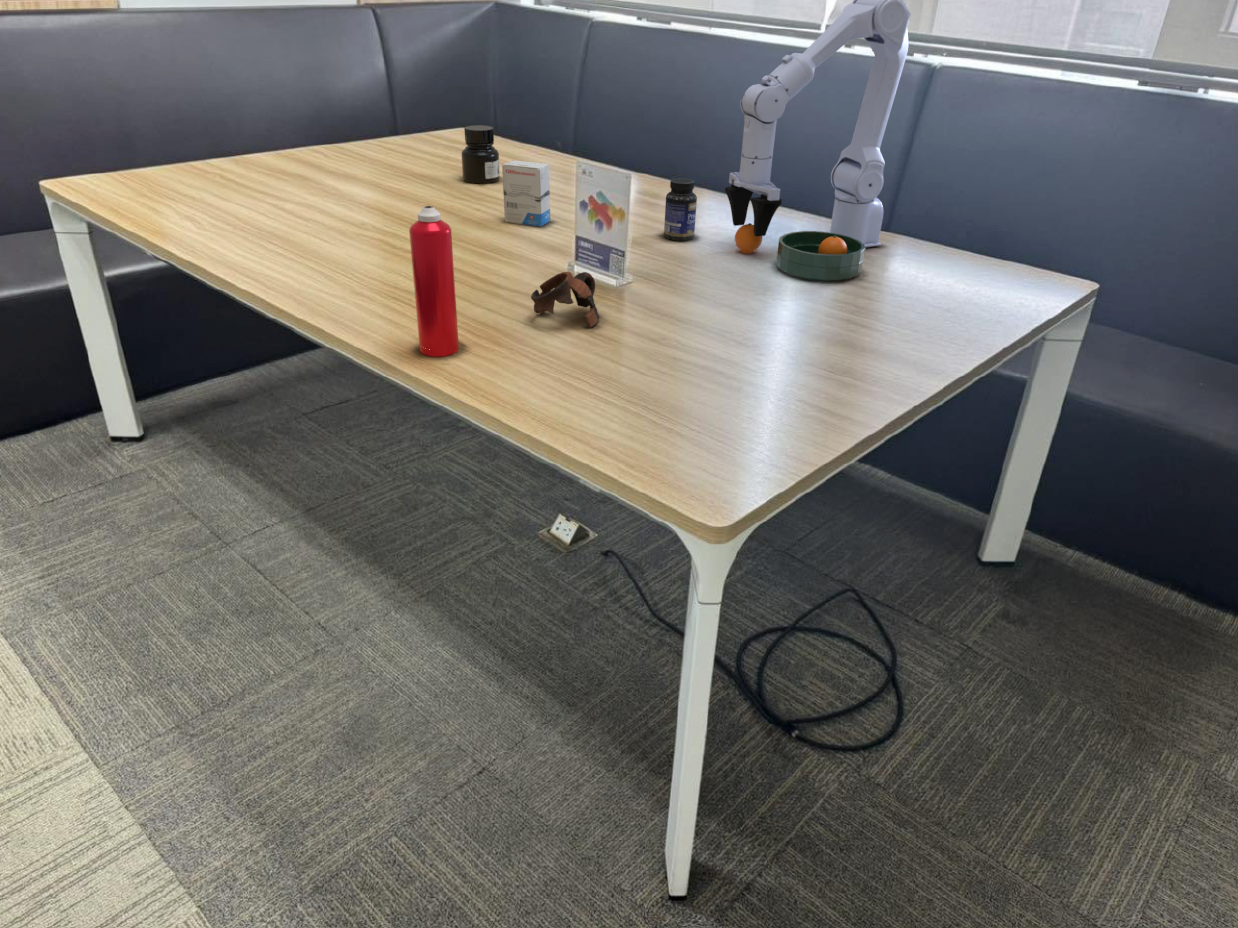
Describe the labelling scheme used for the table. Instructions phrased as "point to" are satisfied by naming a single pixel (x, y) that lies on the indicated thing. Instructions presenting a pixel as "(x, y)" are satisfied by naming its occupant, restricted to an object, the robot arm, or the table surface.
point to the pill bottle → (680, 210)
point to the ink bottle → (480, 155)
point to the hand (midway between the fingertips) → (749, 230)
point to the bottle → (434, 284)
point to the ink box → (526, 193)
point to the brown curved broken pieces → (567, 294)
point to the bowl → (818, 256)
